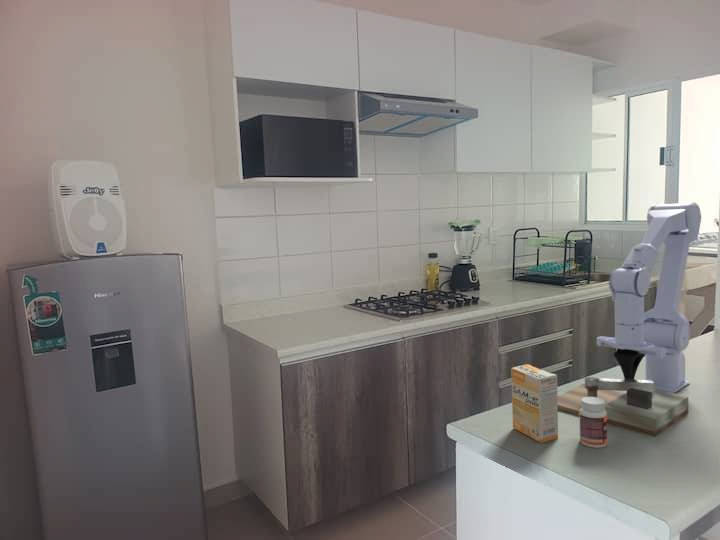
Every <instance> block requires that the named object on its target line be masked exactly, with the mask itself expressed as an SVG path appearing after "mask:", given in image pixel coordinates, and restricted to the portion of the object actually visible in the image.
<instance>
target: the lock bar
mask: <svg viewBox="0 0 720 540" xmlns="http://www.w3.org/2000/svg"><path fill="white" fill-rule="evenodd" d="M584 384H585V388H586V389H588V390H612V391H617V392H627V390H628V389H630V388H634V389H639V390H643V391H648V392H654V382H653V381H652V380H646V379H635V378H634V379H625V378H603V377H593V376H589V377H587V376H586V377H585V378H584Z"/></svg>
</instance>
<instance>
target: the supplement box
mask: <svg viewBox="0 0 720 540" xmlns="http://www.w3.org/2000/svg"><path fill="white" fill-rule="evenodd" d="M510 371H511V373H510V374H511V377H510V378H511V405H512V406H511V407H512V408H511V409H512V429H514V430H516V431H518V432H520V433H522V434H524V435H526V436H527V437H529V438H532V439H533V440H535V441H536V442H537V443H539V444H543V443H546V442H550V441H554V440H556V439H558V438H559V425H558V424H559V423H558V422H559V420H558V419H559V416H558V415H559V414H558V410H559V409H558V404H557V397H558V374H555V373H553V372H550V371H547V370H544V369H542V368H539V367H536V366H533V365H532V364H528V363H527V364H523V365H519V366H514V367H511V368H510Z"/></svg>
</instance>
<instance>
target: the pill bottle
mask: <svg viewBox="0 0 720 540" xmlns="http://www.w3.org/2000/svg"><path fill="white" fill-rule="evenodd" d="M581 407H582V408H581V409H580V411H579V415H578V416H579V441H580V442H581V444H582V445H584V446H586V447H589V448H594V449H595V448H596V449H598V448H604V447H606V446H607V445H608V423H607V412H606V411H605V410H604V409H605V401H604V400H603V399H601V398H597V397H584V398H582V399H581Z"/></svg>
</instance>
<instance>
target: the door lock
mask: <svg viewBox="0 0 720 540" xmlns="http://www.w3.org/2000/svg"><path fill="white" fill-rule="evenodd" d="M584 397H597V398H601V399H603V400H604V401H605V409H604V410H605V411H606V412H607V424H608V423H609V425H613V426H616V427H619V428H623V429H626V428H627V430H631V431H633V430H634V431H633V432H637V433H640V432H641V433H640V434H644V435H648V436H651V437H658V436H659V435H661V434H662V433H663V432H665V430H667V429H668V428H670V427H671V426H672V425H673V424H675V423H676V422H678V421H679V420H681V418H683V417H684V416H685V415H687V414H688V413H689V396H688V395H684V394H679V393H676V392H675V393H671V392H666V391H661V390H657V389H654V392H648V391H643V390H639V389H634V388H630V389H628V390H627V391H626V392H625V393H624V392H622V391H614V390H588V389H586V388H585V383H581V384H580V385H578V386H576V387H574V388H572V389H570V390H568V391H565V392H563V393H562V394H560V395H557V404H558V410H560V411H562V410H564V411H563V412H566V411H567V412H566V413H569V412H571V413H570V414H573V413H575V414H574V415H576V414H579V411H580V409H581V408H582V407H581V399H582V398H584Z"/></svg>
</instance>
